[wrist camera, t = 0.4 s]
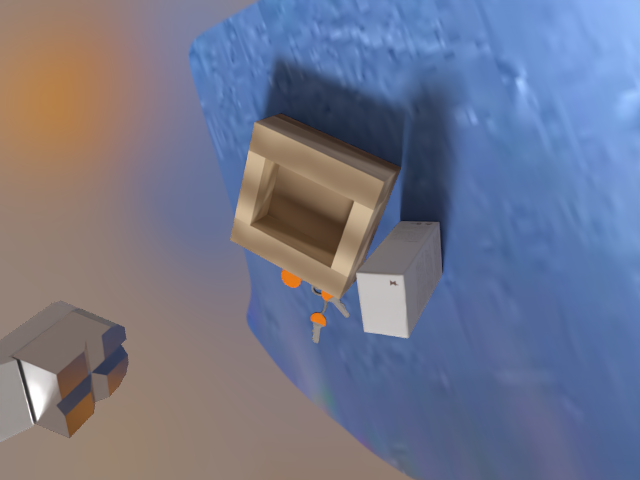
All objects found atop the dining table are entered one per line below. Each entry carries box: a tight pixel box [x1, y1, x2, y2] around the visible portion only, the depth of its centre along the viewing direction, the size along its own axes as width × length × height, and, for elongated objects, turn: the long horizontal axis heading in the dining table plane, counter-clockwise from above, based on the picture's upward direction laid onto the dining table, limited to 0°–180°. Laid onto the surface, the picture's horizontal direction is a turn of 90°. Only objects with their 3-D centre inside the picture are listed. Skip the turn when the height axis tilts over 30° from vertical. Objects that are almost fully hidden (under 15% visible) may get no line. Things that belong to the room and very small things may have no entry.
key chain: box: [281, 270, 349, 343], centre depth 58 cm, size 13×7×1 cm, turn 28°
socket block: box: [230, 114, 401, 299], centre depth 51 cm, size 14×14×5 cm
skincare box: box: [356, 221, 442, 338], centre depth 45 cm, size 6×4×12 cm
